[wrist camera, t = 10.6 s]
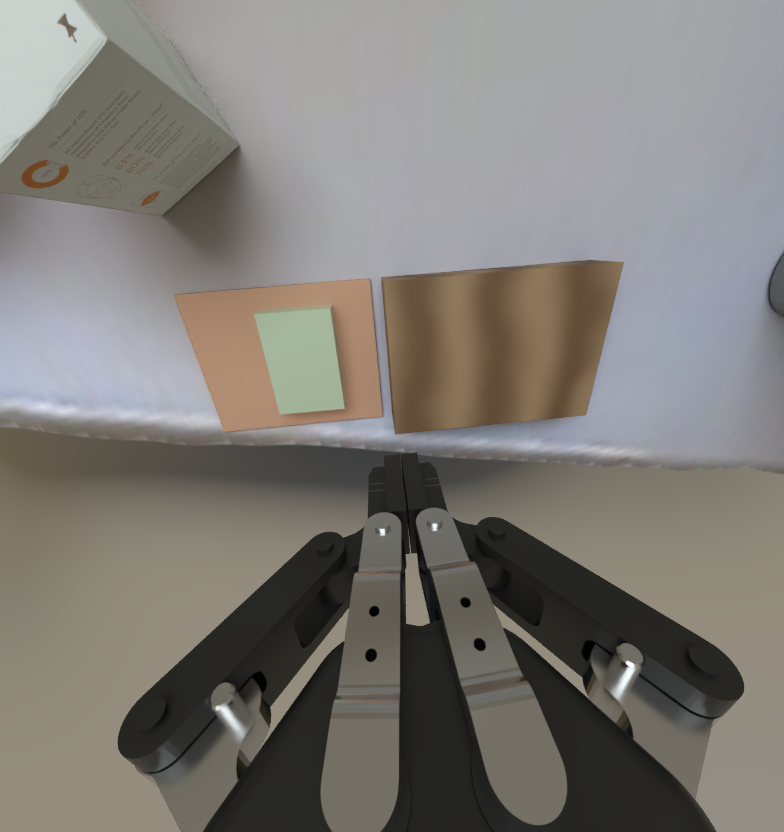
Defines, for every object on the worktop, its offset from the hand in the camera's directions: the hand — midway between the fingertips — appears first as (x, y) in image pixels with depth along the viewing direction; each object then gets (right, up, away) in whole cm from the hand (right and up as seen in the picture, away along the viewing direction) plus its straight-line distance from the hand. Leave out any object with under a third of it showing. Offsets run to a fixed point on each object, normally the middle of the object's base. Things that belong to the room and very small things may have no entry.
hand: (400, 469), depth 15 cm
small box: (-16, +22, +7) cm, 28 cm away
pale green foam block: (-8, +7, +13) cm, 17 cm away
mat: (-10, +7, +15) cm, 19 cm away
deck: (+8, +9, +16) cm, 20 cm away
